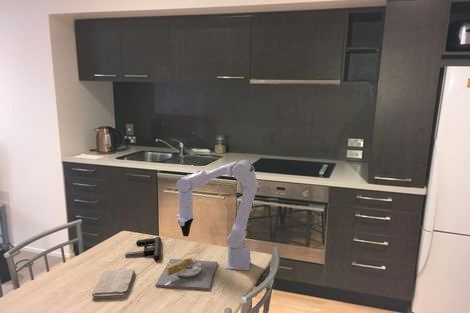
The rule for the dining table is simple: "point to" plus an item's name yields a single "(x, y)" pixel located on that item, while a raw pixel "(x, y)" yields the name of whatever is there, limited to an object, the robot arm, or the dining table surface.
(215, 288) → the dining table surface
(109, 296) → the washcloth
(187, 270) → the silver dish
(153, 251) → the door handle
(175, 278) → the nut board
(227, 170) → the robot arm
